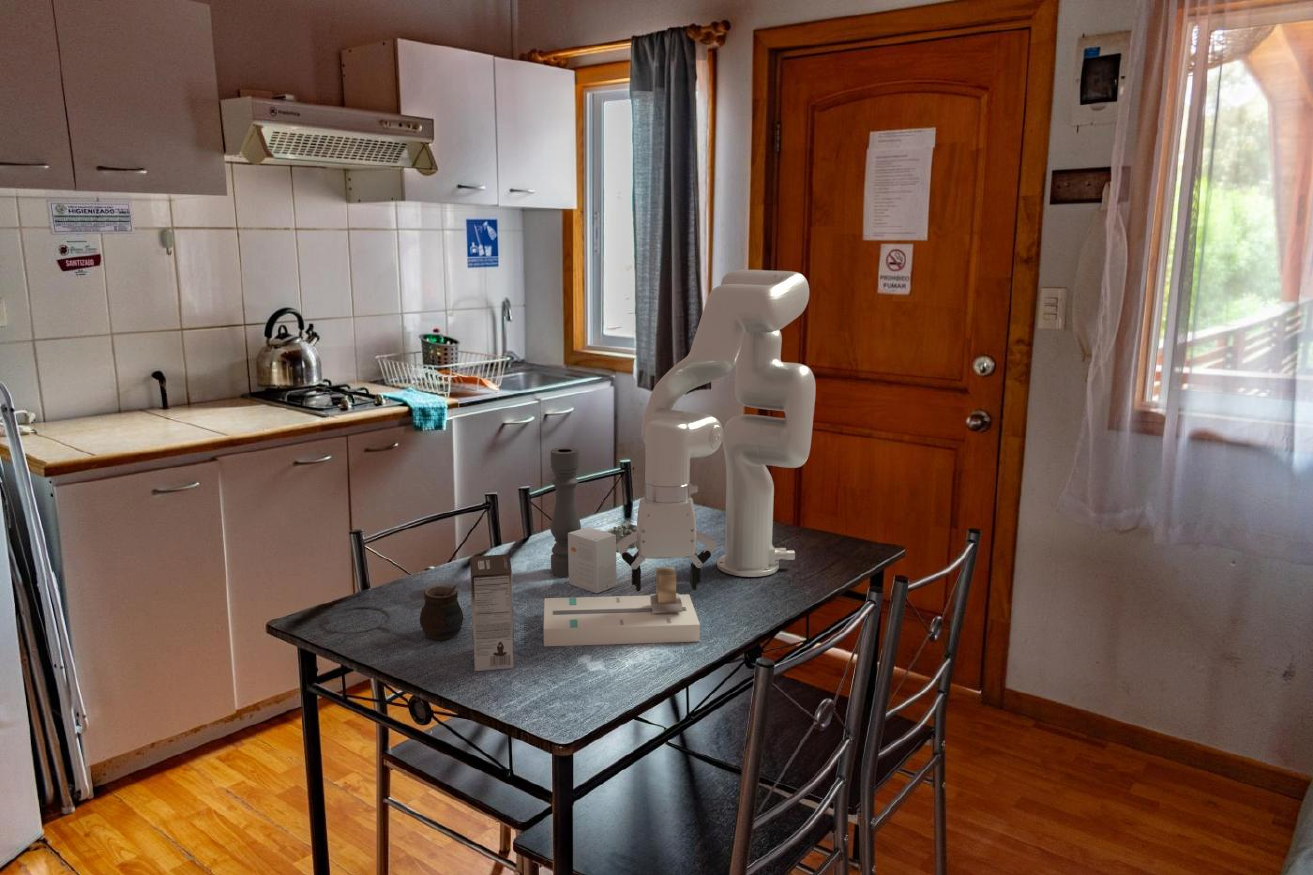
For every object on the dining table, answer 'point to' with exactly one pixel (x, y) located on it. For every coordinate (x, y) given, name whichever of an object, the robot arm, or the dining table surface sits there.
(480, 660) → the coffee box
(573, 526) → the candle holder
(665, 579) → the fader
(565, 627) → the console
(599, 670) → the dining table surface
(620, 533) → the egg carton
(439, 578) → the dining table surface
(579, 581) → the small box
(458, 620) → the mate gourd
